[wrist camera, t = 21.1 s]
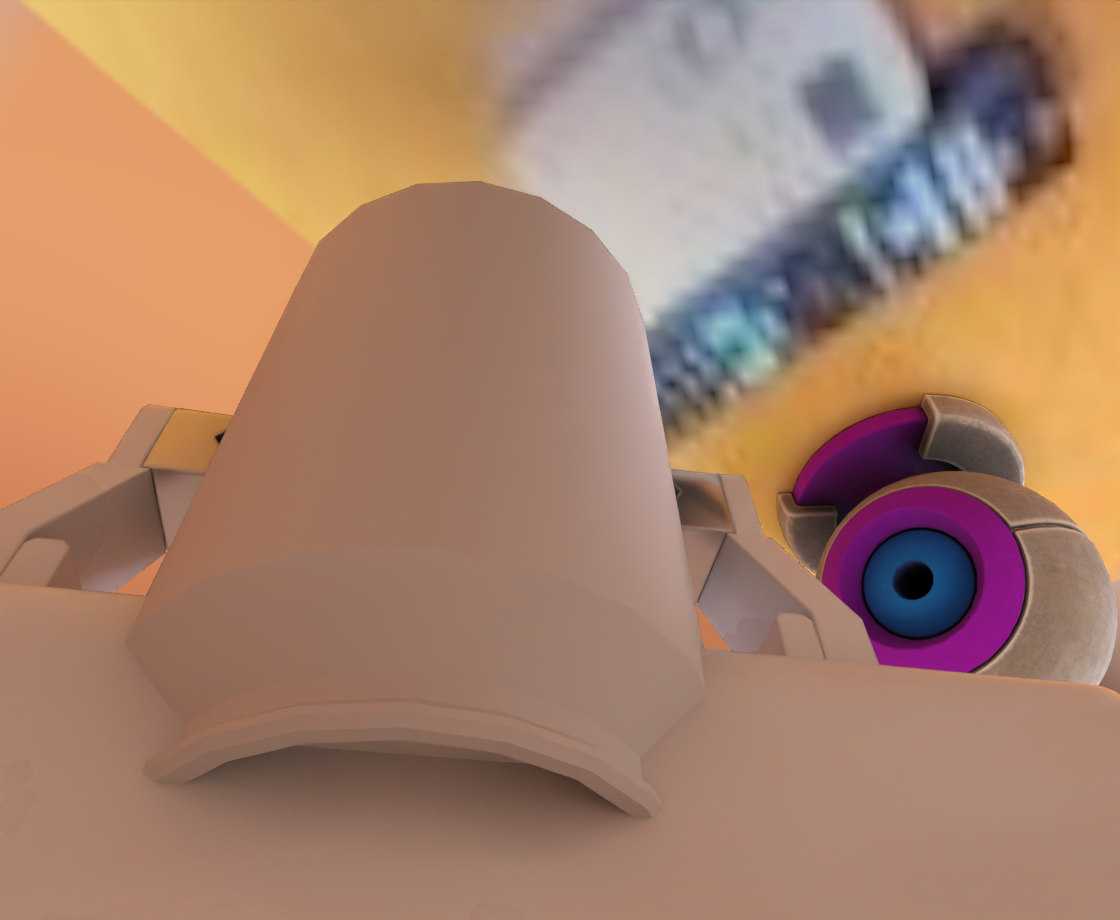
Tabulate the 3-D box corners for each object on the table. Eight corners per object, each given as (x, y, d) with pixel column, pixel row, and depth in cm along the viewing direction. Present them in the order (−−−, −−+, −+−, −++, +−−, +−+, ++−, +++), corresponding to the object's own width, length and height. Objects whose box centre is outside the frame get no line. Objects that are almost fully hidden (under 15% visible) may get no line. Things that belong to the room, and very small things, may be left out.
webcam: (941, 351, 40) (1109, 578, 29) (1054, 484, 46) (1232, 716, 35) (733, 496, 46) (803, 735, 35) (857, 598, 52) (954, 831, 40)
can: (284, 141, 16) (-90, 670, 6) (672, 185, 16) (842, 722, 7) (313, 447, 20) (122, 1004, 11) (612, 471, 21) (666, 1016, 12)
